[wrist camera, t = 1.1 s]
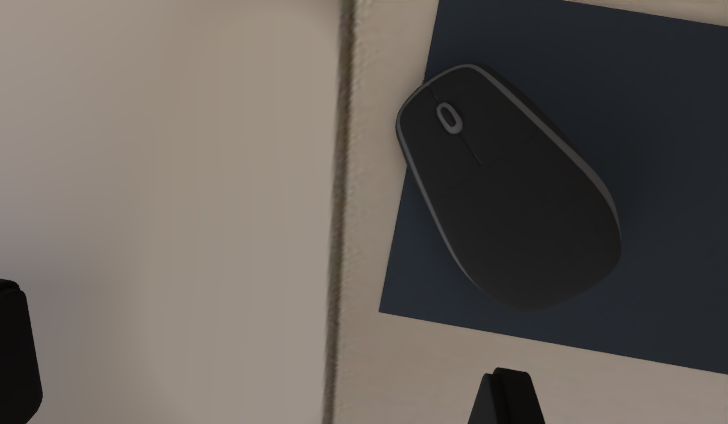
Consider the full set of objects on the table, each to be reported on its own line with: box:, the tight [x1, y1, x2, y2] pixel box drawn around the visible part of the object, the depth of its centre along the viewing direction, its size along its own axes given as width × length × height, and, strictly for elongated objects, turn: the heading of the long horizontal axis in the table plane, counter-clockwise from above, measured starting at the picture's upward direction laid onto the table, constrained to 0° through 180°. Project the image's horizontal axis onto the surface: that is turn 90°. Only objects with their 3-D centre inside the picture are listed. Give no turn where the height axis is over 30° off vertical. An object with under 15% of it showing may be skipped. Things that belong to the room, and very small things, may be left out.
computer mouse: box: [396, 62, 621, 312], centre depth 20 cm, size 7×12×4 cm, turn 38°
